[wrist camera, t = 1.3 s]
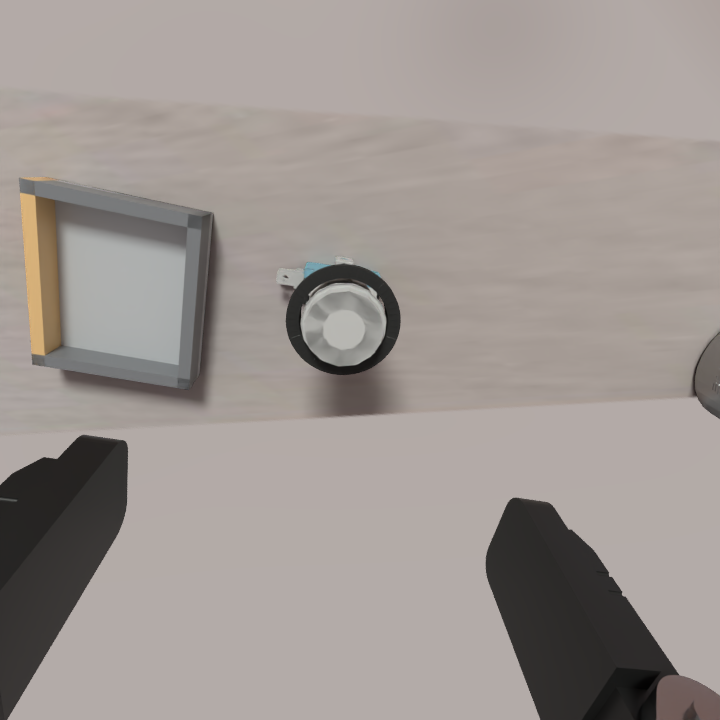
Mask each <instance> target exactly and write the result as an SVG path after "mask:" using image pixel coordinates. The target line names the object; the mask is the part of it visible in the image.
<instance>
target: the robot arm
mask: <svg viewBox="0 0 720 720" xmlns="http://www.w3.org/2000/svg"><path fill="white" fill-rule="evenodd" d="M695 391H696V394H697V397H698V400H699V401H700V403H701V404H702V406H703V407H704V408H705V409H706V410H708V411H709V412H710V413H711V414H713V415H715V416H716V417H718V418H719V419H720V333H719V334H718V335H717V336H716V337H715V338H714V339H713V340H712V341H711V343H710V344H709V346H708V347H707V349H706V350H705V352H704V353H703V355H702V357H701V359H700V362H699V364H698V366H697V371H696V375H695ZM127 470H128V447H127V443H126V442H125V441H123V440H117V439H110V438H103V437H95V436H89V435H82V436H80V437H78V438H77V439H76V440H75V441H74V442H73V443H72V444H71V445H70V446H69V448H67V450H65V451H64V452H63V454H62V455H61V456H60V457H59V458H58V459H53V458H46V457H44V458H42V459H40V460H37V461H36V462H34V463H32V464H30V465H28V466H26V467H24V468H22V469H20V470H18V471H16V472H14V473H13V474H11V475H10V477H8V478H7V479H6V480H5V481H4V482H3V483H2V484H1V485H0V720H7V719H8V717H9V716H10V714H11V712H12V711H13V709H14V707H15V705H16V704H17V702H18V701H19V699H20V697H21V696H22V694H23V692H24V691H25V689H26V687H27V685H28V684H29V682H30V680H31V679H32V677H33V675H34V674H35V672H36V670H37V669H38V667H39V665H40V664H41V662H42V660H43V659H44V657H45V655H46V654H47V652H48V650H49V649H50V646H51V645H52V643H53V642H54V640H55V639H56V637H57V635H58V633H59V632H60V630H61V629H62V627H63V625H64V624H65V621H66V620H67V618H68V617H69V615H70V613H71V612H72V610H73V608H74V607H75V605H76V603H77V602H78V600H79V598H80V597H81V595H82V593H83V592H84V590H85V588H86V587H87V585H88V583H89V582H90V580H91V578H92V577H93V575H94V573H95V572H96V570H97V568H98V566H99V565H100V563H101V561H102V560H103V558H104V557H105V555H106V553H107V551H108V550H109V548H110V546H111V545H112V543H113V541H114V540H115V538H116V536H117V534H118V532H119V530H120V528H121V525H122V523H123V519H124V516H125V512H126V506H127V472H128V471H127ZM486 573H487V578H488V582H489V584H490V587H491V590H492V592H493V595H494V598H495V600H496V603H497V606H498V608H499V611H500V613H501V616H502V619H503V621H504V624H505V627H506V629H507V632H508V634H509V637H510V640H511V643H512V645H513V648H514V651H515V653H516V656H517V659H518V661H519V664H520V667H521V669H522V672H523V675H524V677H525V680H526V683H527V685H528V688H529V691H530V693H531V696H532V698H533V701H534V703H535V706H536V709H537V712H538V714H539V717H540V720H720V696H719V695H718V694H717V693H716V692H714V691H712V690H711V689H710V688H708V687H706V686H705V685H703V684H701V683H699V682H697V681H695V680H693V679H690V678H687V677H684V676H680V675H679V674H678V673H677V671H676V670H675V668H674V667H673V665H672V664H671V662H670V661H669V659H668V658H667V657H666V655H665V654H664V652H663V651H662V649H661V648H660V646H659V645H658V643H657V642H656V641H655V639H654V638H653V636H652V635H651V633H650V632H649V630H648V629H647V627H646V626H645V624H644V623H643V622H642V620H641V619H640V617H639V616H638V614H637V613H636V611H635V610H634V608H633V607H632V605H631V604H630V603H629V602H628V600H627V598H626V597H624V596H622V591H621V590H620V588H619V587H618V585H617V584H616V582H615V581H614V579H613V578H612V577H609V572H608V570H607V569H606V568H605V566H604V565H603V563H602V562H601V560H600V559H599V557H598V556H597V554H596V553H595V552H594V550H593V549H592V548H591V547H590V546H589V545H587V544H586V543H585V542H584V541H583V540H582V539H581V538H580V537H579V536H578V535H577V534H576V533H574V532H573V531H572V530H568V528H567V527H566V525H565V524H564V522H563V521H562V519H561V517H560V516H559V515H558V513H557V511H556V510H555V508H554V507H553V506H552V505H551V504H550V503H548V502H542V501H535V500H528V499H521V498H512V499H511V500H510V501H509V502H508V504H507V506H506V508H505V510H504V513H503V515H502V517H501V520H500V522H499V525H498V527H497V529H496V532H495V534H494V536H493V538H492V541H491V543H490V545H489V548H488V551H487V555H486Z"/></svg>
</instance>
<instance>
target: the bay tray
mask: <svg viewBox="0 0 720 720" xmlns="http://www.w3.org/2000/svg"><path fill="white" fill-rule="evenodd" d="M19 184H20V198H21V212H22V225H23V239H24V253H25V267H26V281H27V295H28V308H29V322H30V336H31V350H32V364H33V365H39V366H45V367H51V368H57V369H63V370H69V371H76V372H82V373H88V374H94V375H100V376H106V377H112V378H119V379H125V380H131V381H137V382H143V383H149V384H155V385H162V386H168V387H174V388H180V389H186V390H189V389H190V388H191V386H192V385H193V383H194V382H195V380H196V379H197V377H198V376H199V374H200V362H201V351H202V339H203V327H204V315H205V303H206V292H207V280H208V268H209V256H210V245H211V233H212V221H213V213H211V212H206V211H202V210H197V209H192V208H188V207H183V206H178V205H174V204H169V203H164V202H160V201H155V200H150V199H146V198H141V197H136V196H132V195H127V194H122V193H118V192H113V191H108V190H104V189H99V188H94V187H90V186H85V185H80V184H75V183H71V182H66V181H61V180H57V179H52V178H47V177H34V178H19Z"/></svg>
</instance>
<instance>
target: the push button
mask: <svg viewBox="0 0 720 720" xmlns="http://www.w3.org/2000/svg"><path fill="white" fill-rule="evenodd" d="M344 259H345V260H344ZM283 275H286V276H288V278H285V277H284V276H283ZM276 282H277V284H283V285H290V286H294V289H295V291H294V293H293V294H292V296H291V299H290V301H289V304H288V308H287V313H286V328H287V333H288V336H289V339H290V341H291V344H292V346H293V347H294V349H295V350H296V352H297V353H298V354H299V355H300V357H301V358H302V359H303V360H305V361H306V362H307V363H308V364H310V365H311V366H313V367H315V368H316V369H319V370H321V371H324V372H327V373H331V374H337V375H349V374H356V373H360V372H363V371H366V370H368V369H370V368H372V367H373V366H375V365H377V364H378V363H379V362H381V361H382V360H383V359H384V358H385V357H386V356H387V355H388V354H389V352H390V351H391V350H392V348H393V346H394V344H395V342H396V340H397V337H398V334H399V330H400V310H399V306H398V303H397V300H396V298H395V296H394V294H393V292H392V290H391V289H390V287H389V286H388V285H387V284H386V282H385V281H384V280H383V279H382V278H381V277H380V274H379V273H378V272H375V271H370V270H368V269H366V268H363V267H360V266H356V265H353V259H351V258H345V257H339V256H336V257H335V265H325V264H319V263H312V262H307V263H306V267H305V269H301V268H297V269H296V270H291V269H284V268H280V269H279V271H278V272H277V280H276ZM379 296H380V297H381V299H382V300H383V302H384V307H385V313H384V310H383V307H382V304H381V303H380V301H379ZM302 304H306V305H305V307H304V310H303V313H302V317H301V307H302Z"/></svg>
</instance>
